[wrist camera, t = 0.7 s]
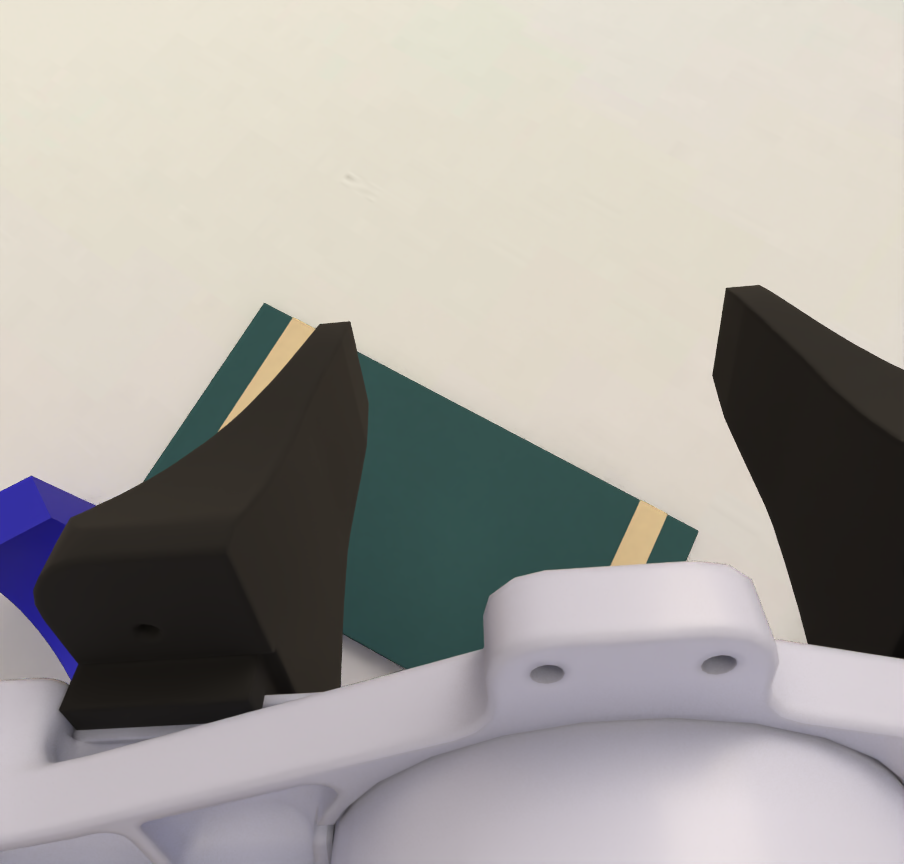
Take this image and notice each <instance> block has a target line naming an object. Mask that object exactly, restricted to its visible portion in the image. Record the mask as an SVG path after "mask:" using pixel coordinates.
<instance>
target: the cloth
mask: <svg viewBox="0 0 904 864" xmlns="http://www.w3.org/2000/svg"><path fill="white" fill-rule="evenodd" d="M314 330H315V328H313V327H311V326H309V325H307V324H305V323H303V322H301V321H300V320H298V319H296V318H294V317H293V318H292V317H291V316H289V315H287V314H285V313H283V312H281V311H279V310H277V309H275V308H273V307H271V306H270V305H268V304H266V303H264V304H263V306H262V307H261V308H260V310H259V311H258V313H257V314H256V316H255V317H254V319H253V320H252V322H251V323H250V325H249V326H248V328H247V329H246V331H245V332H244V334H243V335H242V337H241V338H240V340H239V341H238V343H237V344H236V345H235V347H234V348H233V350H232V351H231V353H230V354H229V356H228V357H227V359H226V360H225V362H224V363H223V365H222V366H221V368H220V369H219V371H218V372H217V374H216V375H215V377H214V378H213V379H212V381H211V382H210V384H209V385H208V387H207V388H206V390H205V391H204V393H203V394H202V396H201V397H200V399H199V400H198V402H197V403H196V405H195V406H194V408H193V409H192V411H191V412H190V414H189V415H188V416H187V418H186V419H185V421H184V422H183V424H182V425H181V427H180V428H179V430H178V431H177V433H176V434H175V436H174V437H173V439H172V440H171V442H170V443H169V445H168V446H167V448H166V449H165V450H164V452H163V453H162V455H161V456H160V458H159V459H158V461H157V462H156V464H155V465H154V467H153V468H152V470H151V471H150V473H149V474H148V476H147V477H146V479H145V480H144V482H145V481H146V480H148V479H150V478H152V477H153V476H155V475H157V474H158V473H160V472H162V471H163V470H165V469H167V468H168V467H170V466H171V465H173V464H174V463H176V462H177V461H179V460H180V459H182V458H183V457H185V456H186V455H187V454H189V453H190V452H192V451H193V450H195V449H196V448H197V447H199V446H200V445H202V444H203V443H205V442H206V441H207V440H209V439H210V438H211V437H212V436H214V435H215V434H216V433H217V432H219V431H220V430H221V429H222V428H223V427H225V426H226V425H227V424H228V423H229V422H231V421H232V420H233V419H234V418H235V417H236V416H237V415H238V414H240V413H241V412H242V411H243V410H244V409H245V408H246V407H247V406H248V405H249V404H250V403H251V402H252V401H253V400H254V399H255V398H256V397H257V396H258V395H259V394H260V393H261V392H262V391H263V389H264V388H265V387H266V386H267V385H268V384H269V383H270V382H271V381H272V380H273V379H274V378H275V377H276V376H277V374H278V373H279V372H280V371H281V370H282V369H283V367H284V366H285V365H286V364H287V363H288V362H289V360H290V359H291V358H292V357H293V356H294V354H295V353H296V352H297V351H298V350H299V348H300V347H301V346H302V345H303V343H304V342H305V341H306V340H307V339H308V337H309V336H310V335H311V334H312V333H313V331H314ZM357 353H358V358H359V362H360V367H361V371H362V375H363V380H364V384H365V389H366V393H367V397H368V402H369V412H368V435H367V448H366V453H365V459H364V464H363V470H362V475H361V480H360V486H359V491H358V496H357V501H356V507H355V512H354V517H353V522H352V527H351V533H350V540H349V547H348V555H347V569H346V583H345V598H344V617H343V634H344V635H346V636H348V637H349V638H351V639H353V640H355V641H357V642H358V643H360V644H362V645H364V646H366V647H367V648H369V649H371V650H373V651H375V652H376V653H378V654H380V655H382V656H384V657H385V658H387V659H389V660H391V661H393V662H394V663H396V664H398V665H400V666H402V667H403V668H405V669H410V668H414V667H418V666H421V665H425V664H429V663H432V662H436V661H440V660H443V659H447V658H451V657H455V656H458V655H462V654H466V653H469V652H473V651H477V650H480V649H483V648H484V628H483V614H484V611H485V608H486V605H487V602H488V598H489V596H490V595H491V594H492V593H494V592H495V591H497V590H498V589H499V588H501V587H502V586H504V585H505V584H506V583H508V582H509V581H510V580H512V579H513V578H515V577H519V576H523V575H527V574H532V573H536V572H540V571H544V570H558V569H574V568H589V567H604V566H620V565H635V564H651V563H666V562H682V561H686V560H687V557H688V555H689V553H690V550H691V548H692V546H693V543H694V541H695V539H696V536H697V534H698V530H696V529H694V528H692V527H690V526H688V525H686V524H684V523H682V522H681V521H679V520H677V519H675V518H673V517H671V516H669V515H668V514H667V513H665V512H663V511H661V510H659V509H657V508H655V507H653V506H652V505H650V504H648V503H646V502H644V501H642V500H639V499H637V498H635V497H633V496H631V495H629V494H627V493H625V492H624V491H622V490H620V489H618V488H616V487H614V486H612V485H610V484H608V483H606V482H604V481H603V480H601V479H599V478H597V477H595V476H593V475H591V474H589V473H587V472H585V471H584V470H582V469H580V468H578V467H576V466H574V465H572V464H570V463H568V462H566V461H565V460H563V459H561V458H559V457H557V456H555V455H553V454H551V453H549V452H547V451H545V450H544V449H542V448H540V447H538V446H536V445H534V444H532V443H530V442H528V441H526V440H525V439H523V438H521V437H519V436H517V435H515V434H513V433H511V432H509V431H507V430H506V429H504V428H502V427H500V426H498V425H496V424H494V423H492V422H490V421H488V420H487V419H485V418H483V417H481V416H479V415H477V414H475V413H473V412H471V411H469V410H467V409H466V408H464V407H462V406H460V405H458V404H456V403H454V402H452V401H450V400H448V399H447V398H445V397H443V396H441V395H439V394H437V393H435V392H433V391H431V390H429V389H428V388H426V387H424V386H422V385H420V384H418V383H416V382H414V381H412V380H410V379H408V378H407V377H405V376H403V375H401V374H399V373H397V372H395V371H393V370H391V369H389V368H388V367H386V366H384V365H382V364H380V363H378V362H376V361H374V360H372V359H370V358H369V357H367V356H365V355H363V354H361V353H359V352H357Z"/></svg>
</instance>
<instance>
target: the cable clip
mask: <svg viewBox="0 0 904 864" xmlns="http://www.w3.org/2000/svg"><path fill="white" fill-rule="evenodd" d="M93 507H95V505H93V504H91V503H89V502H87V501H85V500H82V499H80V498H78V497H76V496H74V495H72V494H69V493H67V492H65V491H63V490H61V489H59V488H57V487H54V486H52V485H50V484H48V483H46V482H44V481H42V480H39V479H37V478H35V477H33V476H30V477H28V478H26V479H24V480H22V481H20V482H18V483H16V484H14V485H12V486H10V487H8V488H6V489H4V490H2V491H0V593H2V594H3V595H4V596H5V597H6V598H8V599H9V600H10V601H11V602H12V603H13V604H14V605H15V606H16V607H17V608H18V609H20V610H21V611H22V613H23V614H24V615H25V616H26V617H27V618H28V619H29V620H30V621H31V622H32V624H33V625H34V626H35V627H36V628H37V630H38V631H39V632H40V633H41V635H42V636H43V637H44V639H45V640H46V641H47V643H48V644H49V645H50V647H51V648H52V650H53V651H54V653H55V654H56V656H57V657H58V659H59V661H60V662H61V664H62V665H63V667H64V669H65V671H66V672H67V674H68V676H69V678H70V679H71V680H72V678H73V675H74V673H75V671H76V668H77V666H78V663H77V662H76V661H75V659H74V658H73V657H72V656H71V654H70V653H69V652H68V651H67V649H66V648H65V647H64V645H63V644H62V643H61V642H60V640H59V639H58V638H57V636H56V635H55V634H54V633H53V631H52V630H51V629H50V628H49V626H48V625H47V624H46V622H45V621H44V620H43V618H42V616H41V615H40V613H39V611H38V609H37V608H36V606H35V603H34V595H33V589H34V587H35V584H36V582H37V579H38V577H39V575H40V573H41V571H42V569H43V567H44V565H45V563H46V561H47V559H48V558H49V556H50V554H51V552H52V550H53V548H54V546H55V544H56V542H57V540H58V538H59V537H60V535H61V533H62V531H63V529H64V528H65V526H66V524H67V522H68V521H69V519H70V518H71V517H73V516H75V515H78V514H80V513H82V512H84V511H86V510H89V509H91V508H93Z"/></svg>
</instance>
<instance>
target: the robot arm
mask: <svg viewBox="0 0 904 864" xmlns="http://www.w3.org/2000/svg"><path fill="white" fill-rule="evenodd" d="M712 376H713V379H714V383H715V387H716V390H717V394H718V398H719V401H720V405H721V408H722V411H723V415H724V418H725V420H726V422H727V425H728V427H729V429H730V431H731V434H732V436H733V438H734V440H735V442H736V444H737V447H738V449H739V451H740V453H741V455H742V457H743V460H744V462H745V464H746V466H747V468H748V470H749V472H750V474H751V477H752V479H753V481H754V483H755V485H756V487H757V489H758V492H759V494H760V496H761V498H762V500H763V502H764V504H765V507H766V509H767V512H768V514H769V517H770V519H771V522H772V524H773V527H774V530H775V533H776V537H777V540H778V543H779V546H780V549H781V552H782V555H783V558H784V561H785V564H786V568H787V571H788V575H789V578H790V581H791V585H792V588H793V592H794V595H795V598H796V602H797V605H798V609H799V612H800V616H801V620H802V624H803V627H804V631H805V635H806V639H807V643H808V644H804V643H798V642H791V641H785V640H779V639H774V637H773V634H772V631H771V629H770V626H769V623H768V621H767V618H766V616H765V613H764V610H763V608H762V605H761V602H760V600H759V597H758V594H757V592H756V589H755V586H754V584H753V581H752V579H751V578H749V577H747V576H746V575H744V574H743V573H741V572H740V571H738V570H737V569H735V568H734V567H732V566H730V565H727V564H720V563H711V562H701V561H682V562H666V563H651V564H635V565H620V566H604V567H589V568H574V569H558V570H544V571H540V572H536V573H532V574H527V575H523V576H519V577H515V578H513V579H512V580H510V581H509V582H508V583H506V584H505V585H504V586H502V587H501V588H499V589H498V590H497V591H495V592H494V593H492V594H491V595H490V596H489V598H488V602H487V605H486V608H485V611H484V614H483V628H484V648H483V649H480V650H477V651H473V652H469V653H466V654H462V655H458V656H455V657H451V658H447V659H443V660H440V661H436V662H432V663H429V664H425V665H421V666H418V667H414V668H410V669H407V670H403V671H399V672H395V673H392V674H388V675H384V676H381V677H377V678H373V679H370V680H366V681H362V682H358V683H355V684H351V685H347V686H344V687H341V662H342V635H343V617H344V598H345V583H346V569H347V555H348V547H349V540H350V533H351V527H352V522H353V517H354V512H355V507H356V501H357V496H358V491H359V486H360V480H361V475H362V470H363V464H364V459H365V453H366V448H367V435H368V412H369V402H368V397H367V393H366V389H365V384H364V380H363V375H362V371H361V367H360V362H359V358H358V353H357V349H356V344H355V340H354V336H353V331H352V327H351V322H350V321H349V322H338V323H327V324H319V326H318V327H317V328H316V329H315V330H314V331H313V333H312V334H311V335H310V336H309V337H308V339H307V340H306V341H305V342H304V343H303V345H302V346H301V347H300V348H299V350H298V351H297V352H296V353H295V354H294V356H293V357H292V358H291V359H290V360H289V362H288V363H287V364H286V365H285V366H284V367H283V369H282V370H281V371H280V372H279V373H278V374H277V376H276V377H275V378H274V379H273V380H272V381H271V382H270V383H269V384H268V385H267V386H266V387H265V388H264V389H263V391H262V392H261V393H260V394H259V395H258V396H257V397H256V398H255V399H254V400H253V401H252V402H251V403H250V404H249V405H248V406H247V407H246V408H245V409H244V410H243V411H242V412H241V413H240V414H238V415H237V416H236V417H235V418H234V419H233V420H232V421H231V422H229V423H228V424H227V425H226V426H225V427H223V428H222V429H221V430H220V431H219V432H217V433H216V434H215V435H214V436H212V437H211V438H210V439H209V440H207V441H206V442H205V443H203V444H202V445H200V446H199V447H197V448H196V449H195V450H193V451H192V452H190V453H189V454H187V455H186V456H185V457H183V458H182V459H180V460H179V461H177V462H176V463H174V464H173V465H171V466H170V467H168V468H167V469H165V470H163V471H162V472H160V473H158V474H157V475H155V476H153V477H152V478H150V479H148V480H146V481H145V482H143V483H141V484H139V485H137V486H136V487H134V488H132V489H130V490H128V491H126V492H124V493H122V494H120V495H119V496H116V497H114V498H112V499H110V500H108V501H106V502H104V503H101V504H99V505H97V506H95V507H93V508H91V509H89V510H86V511H84V512H82V513H80V514H78V515H75V516H73V517H71V518H70V519H69V521H68V522H67V524H66V526H65V528H64V529H63V531H62V533H61V535H60V537H59V538H58V540H57V542H56V544H55V546H54V548H53V550H52V552H51V554H50V556H49V558H48V559H47V561H46V563H45V565H44V567H43V569H42V571H41V573H40V575H39V577H38V579H37V582H36V584H35V587H34V589H33V595H34V603H35V606H36V608H37V609H38V611H39V613H40V615H41V616H42V618H43V620H44V621H45V622H46V624H47V625H48V626H49V628H50V629H51V630H52V631H53V633H54V634H55V635H56V636H57V638H58V639H59V640H60V642H61V643H62V644H63V645H64V647H65V648H66V649H67V651H68V652H69V653H70V654H71V656H72V657H73V658H74V659H75V661H76V662H77V663H78V666H77V668H76V671H75V673H74V675H73V678H72V680H71V682H70V685H68V684H67V683H65V682H62V681H59V680H56V679H50V678H34V679H17V680H0V864H904V370H903V369H901V368H899V367H897V366H894V365H892V364H890V363H888V362H886V361H884V360H882V359H881V358H879V357H877V356H875V355H873V354H871V353H870V352H868V351H866V350H864V349H862V348H860V347H859V346H857V345H855V344H853V343H852V342H850V341H848V340H846V339H845V338H843V337H841V336H840V335H838V334H836V333H835V332H833V331H832V330H830V329H828V328H827V327H825V326H824V325H822V324H820V323H819V322H817V321H816V320H814V319H813V318H811V317H809V316H808V315H806V314H805V313H803V312H802V311H800V310H799V309H797V308H796V307H794V306H793V305H791V304H790V303H788V302H787V301H785V300H783V299H782V298H780V297H779V296H777V295H776V294H774V293H772V292H771V291H769V290H767V289H766V288H764V287H762V286H760V285H754V286H743V287H731V288H726V291H725V298H724V304H723V311H722V317H721V324H720V330H719V336H718V343H717V349H716V356H715V362H714V368H713V375H712Z"/></svg>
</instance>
